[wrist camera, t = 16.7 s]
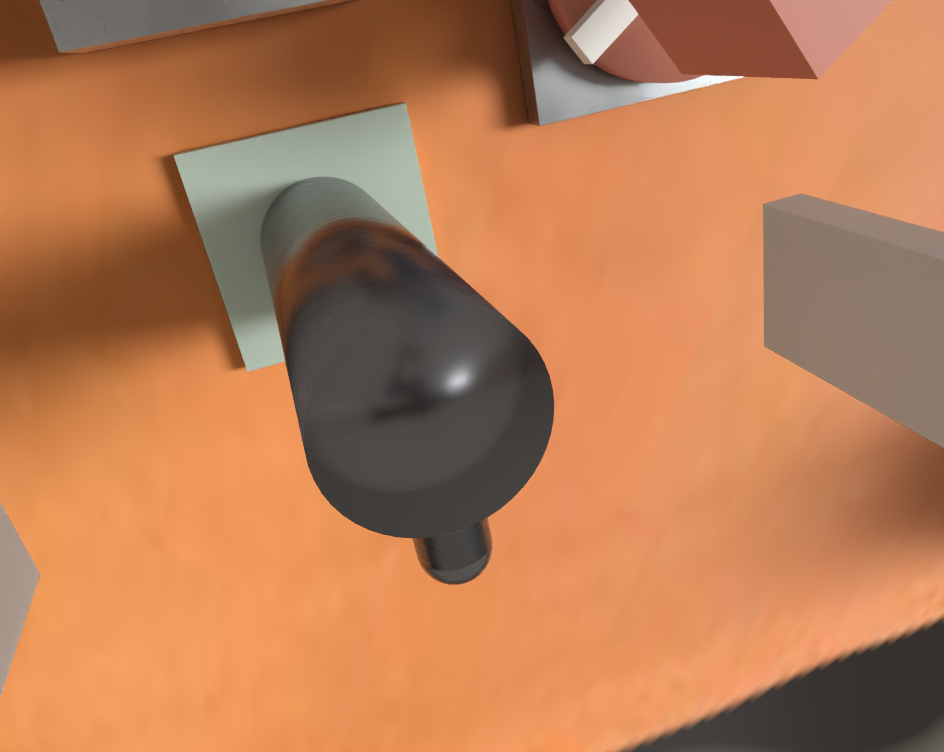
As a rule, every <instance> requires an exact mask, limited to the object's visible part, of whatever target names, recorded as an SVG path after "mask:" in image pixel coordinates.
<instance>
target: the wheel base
mask: <svg viewBox="0 0 944 752" xmlns="http://www.w3.org/2000/svg"><path fill="white" fill-rule="evenodd" d="M511 6H512V12H513V19H514V26H515V33H516V40H517V47H518V53H519V60H520V67H521V74H522V81H523V87H524V94H525V101H526V108H527V115H528V122H529V124H533V125H538V126H542V125H546V124H550V123H554V122H558V121H563V120H567V119H571V118H575V117H579V116H583V115H588V114H592V113H596V112H600V111H604V110H608V109H613V108H617V107H621V106H625V105H629V104H633V103H638V102H642V101H646V100H650V99H654V98H658V97H663V96H667V95H671V94H675V93H679V92H683V91H688V90H692V89H696V88H700V87H704V86H708V85H713V84H717V83H721V82H725V81H729V80H733V79H738V78H742V76H713V75H704V76H701V77H699V78H696V79H692V80H688V81H684V82H678V83H648V82H636V81H631V80H627V79H623V78H619V77H617V76H614V75H612V74H610V73H607V72H605V71H604V70H602V69H600V68H599V67H597V66H595V65H594V64H584V63H583V62H582V61H581V60H580V58H579V57H578V56H577V54H576V53H575V52H574V51H573V49H572V48H571V47H570V46H569V44H568V43H567V42H566V41H565V39H564V38H563V37H564V36H565V34H564V33H563V31H562V30H561V28H560V27H559V25H558V23H557V21H556V19H555V17H554V15H553V13H552V11H551V8H550V6H549V3H548V0H511Z"/></svg>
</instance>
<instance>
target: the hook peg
mask: <svg viewBox="0 0 944 752" xmlns="http://www.w3.org/2000/svg"><path fill="white" fill-rule="evenodd" d="M260 242H261V251H262V255H263V260H264V265H265V269H266V274H267V278H268V283H269V288H270V292H271V297H272V302H273V306H274V311H275V316H276V320H277V325H278V329H279V334H280V339H281V343H282V348H283V353H284V357H285V362H286V367H287V371H288V376H289V380H290V385H291V390H292V394H293V399H294V404H295V408H296V413H297V417H298V422H299V427H300V431H301V436H302V441H303V445H304V450H305V454H306V458H307V463H308V467H309V469H310V472H311V474H312V476H313V479H314V481H315V483H316V484H317V486H318V488H319V489H320V491H321V493H322V494H323V495H324V497H325V498H326V499H327V500H328V501H329V503H330V504H331V505H332V506H333V507H334V508H335V509H337V510H338V511H339V512H340V513H341V514H342V515H343V516H345V517H346V518H348V519H349V520H351V521H352V522H354V523H356V524H358V525H360V526H362V527H364V528H366V529H368V530H371V531H374V532H377V533H380V534H384V535H389V536H394V537H402V538H413V542H414V546H415V550H416V553H417V557H418V560H419V562H420V564H421V566H422V568H423V569H424V570H425V572H426V573H427V574H428V575H429V576H431V577H432V578H433V579H435V580H437V581H439V582H441V583H444V584H449V585H458V584H463V583H467V582H469V581H471V580H473V579H475V578H476V577H477V576H479V575H480V574H481V573H482V571H483V570H484V569H485V568H486V566H487V564H488V562H489V560H490V557H491V553H492V537H491V533H490V528H489V524H488V519H487V517H489V516H490V515H492V514H493V513H495V512H496V511H498V510H499V509H501V508H502V507H503V506H504V505H505V504H506V503H508V502H509V501H510V500H511V499H512V498H513V497H514V496H515V495H516V494H517V493H518V492H519V491H520V490H521V489H522V488H523V487H524V485H525V484H526V483H527V481H528V480H529V479H530V478H531V476H532V475H533V473H534V471H535V470H536V468H537V466H538V465H539V463H540V461H541V459H542V457H543V455H544V452H545V450H546V448H547V445H548V441H549V438H550V435H551V430H552V424H553V417H554V398H553V389H552V385H551V380H550V376H549V374H548V371H547V368H546V366H545V363H544V361H543V360H542V358H541V356H540V354H539V353H538V351H537V349H536V348H535V347H534V345H533V344H532V343H531V342H530V340H529V339H528V338H527V337H526V336H525V335H524V334H523V333H522V332H521V331H520V330H519V329H517V328H516V327H515V326H514V325H513V324H512V323H511V322H510V321H509V320H507V319H506V318H505V317H504V316H503V315H502V314H501V313H500V312H499V311H497V310H496V309H495V308H494V307H493V306H492V305H491V304H490V303H489V302H488V301H486V300H485V299H484V298H483V297H482V296H481V295H480V294H479V293H478V292H476V291H475V290H474V289H473V288H472V287H471V286H470V285H469V284H468V283H466V282H465V281H464V280H463V279H462V278H461V277H460V276H459V275H458V274H456V273H455V272H454V271H453V270H452V269H451V268H450V267H449V266H448V265H446V264H445V263H444V262H443V261H442V260H441V259H440V258H439V257H438V256H436V255H435V254H434V253H433V252H432V251H431V250H430V249H429V248H428V247H426V246H425V245H424V244H423V243H422V242H421V241H420V240H419V239H418V238H416V237H415V236H414V235H413V234H412V233H411V232H410V231H409V230H408V229H406V228H405V227H404V226H403V225H402V224H401V223H400V222H399V221H398V220H397V219H395V218H394V217H393V216H392V215H391V214H390V213H389V212H388V211H387V210H385V209H384V208H383V207H382V206H381V205H380V204H379V203H378V202H377V201H375V200H374V199H373V198H372V197H371V196H370V195H369V194H368V193H367V192H365V191H364V190H363V189H361V188H360V187H359V186H357V185H355V184H353V183H351V182H349V181H346V180H343V179H339V178H335V177H313V178H308V179H305V180H302V181H299V182H297V183H295V184H293V185H291V186H290V187H288V188H286V189H285V190H284V191H283V192H282V193H280V194H279V195H278V196H277V197H276V199H275V200H274V201H273V202H272V204H271V205H270V207H269V208H268V210H267V212H266V214H265V217H264V220H263V223H262V228H261V237H260Z"/></svg>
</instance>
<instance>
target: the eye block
mask: <svg viewBox="0 0 944 752" xmlns="http://www.w3.org/2000/svg"><path fill="white" fill-rule="evenodd" d="M39 1H40V4H41V6H42V9H43V12H44V14H45V17H46V19H47V22H48V25H49V27H50V30H51V33H52V35H53V38H54V40H55V43H56V46H57V48H58V51H59V53H87V52H92V51H97V50H103V49H108V48H113V47H118V46H123V45H128V44H133V43H138V42H143V41H148V40H154V39H159V38H164V37H169V36H174V35H179V34H184V33H189V32H194V31H199V30H204V29H210V28H215V27H220V26H225V25H230V24H235V23H240V22H245V21H250V20H255V19H260V18H266V17H271V16H276V15H281V14H286V13H291V12H296V11H301V10H306V9H311V8H316V7H322V6H327V5H332V4H337V3H342V2H347V1H352V0H39Z"/></svg>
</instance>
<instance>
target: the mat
mask: <svg viewBox="0 0 944 752" xmlns="http://www.w3.org/2000/svg"><path fill="white" fill-rule="evenodd" d="M174 158H175V161H176V164H177V167H178V170H179V173H180V176H181V179H182V182H183V185H184V188H185V190H186V193H187V196H188V199H189V202H190V205H191V208H192V211H193V214H194V217H195V220H196V223H197V226H198V229H199V231H200V234H201V237H202V240H203V243H204V246H205V249H206V252H207V255H208V258H209V261H210V264H211V267H212V270H213V272H214V275H215V278H216V281H217V284H218V287H219V290H220V293H221V296H222V299H223V302H224V305H225V308H226V311H227V313H228V316H229V319H230V322H231V325H232V328H233V331H234V334H235V337H236V340H237V343H238V346H239V349H240V351H241V354H242V357H243V360H244V363H245V366H246V369H247V372H249V371H253V370H256V369H260V368H263V367H267V366H270V365H274V364H277V363H281V362H284V361H285V357H284V353H283V348H282V343H281V339H280V334H279V329H278V325H277V320H276V316H275V311H274V306H273V302H272V297H271V292H270V288H269V283H268V278H267V274H266V269H265V265H264V260H263V255H262V251H261V242H260V237H261V228H262V223H263V220H264V217H265V214H266V212H267V210H268V208H269V207H270V205H271V204H272V202H273V201H274V200H275V199H276V197H277V196H278V195H279V194H280V193H282V192H283V191H284V190H285V189H286V188H288V187H290V186H291V185H293V184H295V183H297V182H299V181H302V180H305V179H308V178H313V177H335V178H339V179H343V180H346V181H349V182H351V183H353V184H355V185H357V186H359V187H360V188H361V189H363V190H364V191H365V192H367V193H368V194H369V195H370V196H371V197H372V198H373V199H374V200H375V201H377V202H378V203H379V204H380V205H381V206H382V207H383V208H384V209H385V210H387V211H388V212H389V213H390V214H391V215H392V216H393V217H394V218H395V219H397V220H398V221H399V222H400V223H401V224H402V225H403V226H404V227H405V228H406V229H408V230H409V231H410V232H411V233H412V234H413V235H414V236H415V237H416V238H418V239H419V240H420V241H421V242H422V243H423V244H424V245H425V246H426V247H428V248H429V249H430V250H431V251H432V252H433V253H434V254H435V255H436V256H438V254H437V249H436V244H435V239H434V235H433V230H432V225H431V220H430V216H429V211H428V206H427V201H426V197H425V192H424V187H423V182H422V177H421V173H420V168H419V163H418V158H417V154H416V149H415V144H414V139H413V135H412V130H411V125H410V120H409V115H408V111H407V106H406V103H398V104H394V105H389V106H385V107H380V108H376V109H371V110H367V111H363V112H358V113H354V114H349V115H345V116H340V117H336V118H332V119H327V120H323V121H318V122H314V123H309V124H305V125H300V126H296V127H292V128H287V129H283V130H278V131H274V132H269V133H265V134H260V135H256V136H252V137H247V138H243V139H238V140H234V141H229V142H225V143H221V144H216V145H212V146H207V147H203V148H198V149H194V150H189V151H185V152H181V153H176V154H174Z"/></svg>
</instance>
